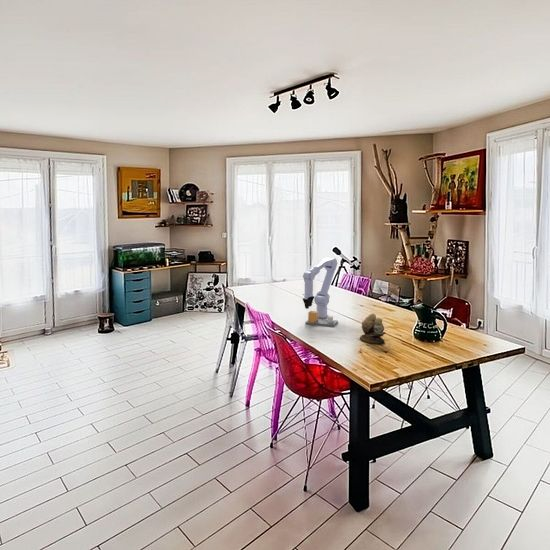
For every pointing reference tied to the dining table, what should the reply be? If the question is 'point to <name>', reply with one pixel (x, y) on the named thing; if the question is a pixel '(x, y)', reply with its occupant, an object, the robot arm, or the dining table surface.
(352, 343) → the dining table surface
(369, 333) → the stacked stone sculpture
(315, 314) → the orange cube
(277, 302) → the dining table surface
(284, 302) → the dining table surface
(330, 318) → the untagged breaker
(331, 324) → the panel
